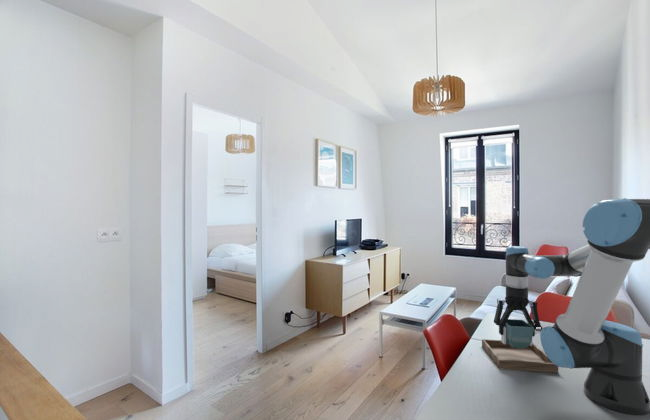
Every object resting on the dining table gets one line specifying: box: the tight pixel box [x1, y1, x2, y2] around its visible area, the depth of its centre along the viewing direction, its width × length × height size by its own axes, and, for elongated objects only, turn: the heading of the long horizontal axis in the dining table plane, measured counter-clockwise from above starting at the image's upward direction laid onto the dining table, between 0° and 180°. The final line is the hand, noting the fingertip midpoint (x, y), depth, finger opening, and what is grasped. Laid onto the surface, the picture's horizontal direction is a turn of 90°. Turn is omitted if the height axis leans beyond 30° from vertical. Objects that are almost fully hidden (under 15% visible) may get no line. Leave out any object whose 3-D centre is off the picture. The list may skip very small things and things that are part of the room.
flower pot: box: [504, 318, 534, 348], centre depth 127 cm, size 9×9×9 cm
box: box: [481, 338, 559, 374], centre depth 127 cm, size 20×20×3 cm
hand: (516, 343), depth 127 cm, fingers closed on flower pot, 9 cm apart
